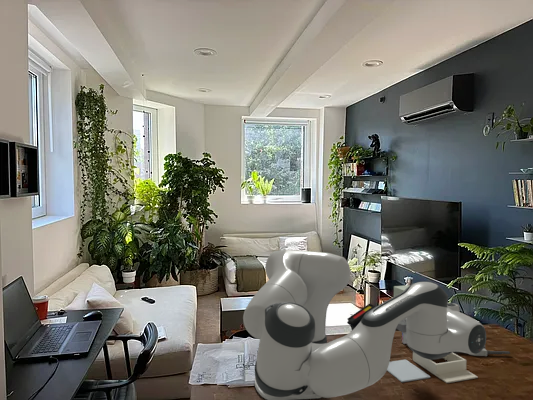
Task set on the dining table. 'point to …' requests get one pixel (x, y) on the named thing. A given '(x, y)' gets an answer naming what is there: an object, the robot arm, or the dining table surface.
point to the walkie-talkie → (487, 352)
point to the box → (396, 291)
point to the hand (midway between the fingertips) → (403, 304)
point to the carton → (446, 368)
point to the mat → (406, 371)
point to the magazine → (359, 316)
